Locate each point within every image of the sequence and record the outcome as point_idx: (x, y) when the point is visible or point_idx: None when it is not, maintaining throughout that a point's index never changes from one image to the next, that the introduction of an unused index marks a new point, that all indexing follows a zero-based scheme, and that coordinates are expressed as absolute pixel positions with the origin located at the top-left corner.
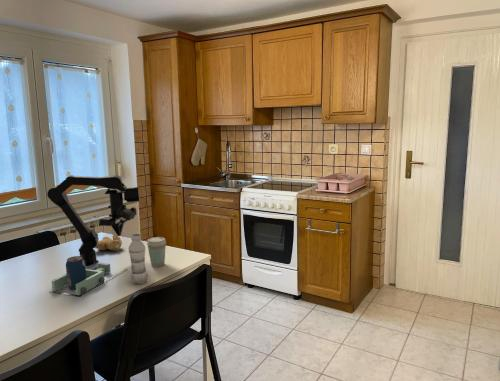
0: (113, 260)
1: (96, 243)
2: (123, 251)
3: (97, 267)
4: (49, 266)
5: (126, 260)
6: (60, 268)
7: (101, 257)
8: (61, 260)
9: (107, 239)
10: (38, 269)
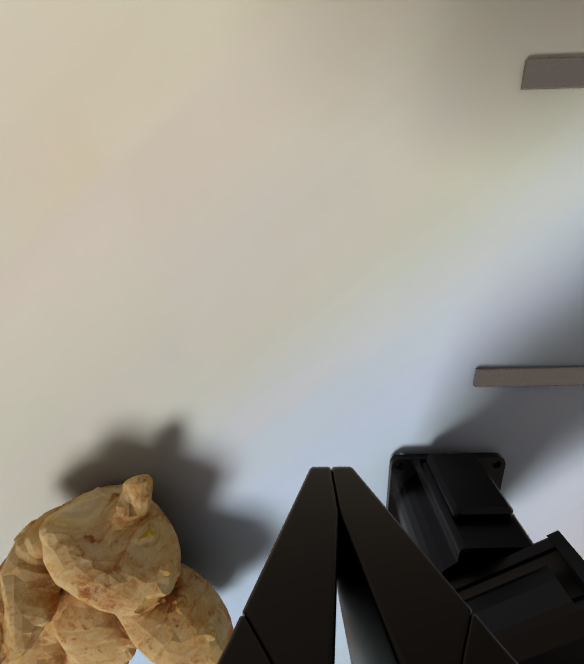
0: (328, 372)
1: (571, 601)
2: (113, 433)
3: (520, 379)
4: None
5: (292, 261)
6: None
7: None
8: None
9: (81, 648)
10: None
